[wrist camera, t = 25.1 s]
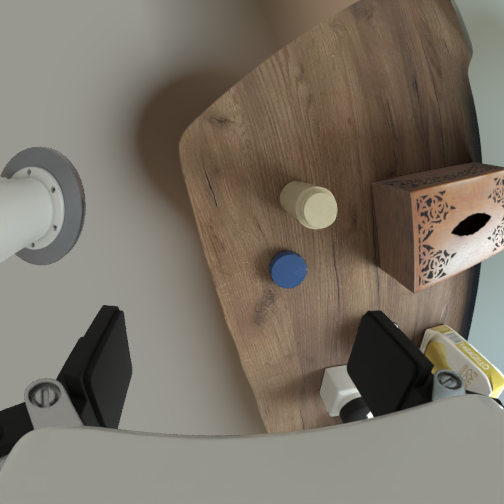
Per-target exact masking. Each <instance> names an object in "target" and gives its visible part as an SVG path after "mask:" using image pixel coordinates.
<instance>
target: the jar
mask: <svg viewBox="0 0 504 504" xmlns="http://www.w3.org/2000/svg"><path fill="white" fill-rule="evenodd" d="M280 203H281V206H282V208H283V209H284V211H285V212H287V213H288V214H289V215H290V216H292V217H293V218H294V219H296V220H297V221H298V222H300V223H301V224H302V225H303V226H305V227H307V228H309V229H322V228H326V227H328V226H330V225H331V224H332V223H333V222H334V220H335V219H336V218H335V217H336V215H337V204H336V201H335V198H334V196H333V195H332V193H331V192H330V191H329V190H327V189H326V188H323V187H320V186H317V185H313V184H310V183H306V182H303V181H292V182H290V183H288V184H287V185H286V186H285V187H284V188H283V189H282V191H281V194H280Z"/></svg>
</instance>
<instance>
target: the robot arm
mask: <svg viewBox="0 0 504 504" xmlns="http://www.w3.org/2000/svg"><path fill="white" fill-rule="evenodd" d="M64 213H65V209H64V199H63V194H62V191H61V188H60V186H59V184H58V182H57V181H56V179H55V178H54V177H53V175H52V174H50V173H49V172H48V171H47V170H45V169H43V168H40V167H26V168H23V169H21V170H19V171H18V172H16V173H15V174H14V175H13V176H12V178H11V179H7V178H6V177H4V178H2V177H1V176H0V263H1V262H2V261H4V260H5V259H7V258H8V257H10V256H12V255H13V254H15V253H16V252H18V251H20V250H21V249H23V248H28V249H33V250H36V249H41V248H44V247H46V246H48V245H49V244H51V243H52V242H53V241H54V240H55V239H56V237H57V236H58V234H59V232H60V230H61V228H62V225H63V221H64ZM56 226H57V227H56ZM433 367H434V364H433V363H432V362H431V361H430V360H429V359H428V358H427V357H426V356H425V355H424V354H423V353H422V352H421V351H420V350H419V349H418V348H417V346H416V345H415V344H414V343H413V342H412V341H411V340H410V339H409V338H408V337H407V336H406V335H405V334H404V333H403V332H402V331H401V330H400V329H399V328H398V327H397V326H396V325H395V324H394V323H393V322H392V321H391V320H390V319H389V318H388V317H387V316H386V315H385V314H384V313H383V312H382V311H380V310H378V311H368V312H366V314H365V315H363V316H362V319H361V322H360V326H359V329H358V333H357V336H356V339H355V342H354V345H353V349H352V352H351V355H350V358H349V361H348V364H347V373H348V375H349V377H350V378H351V380H352V382H353V383H354V385H355V387H356V388H357V390H358V392H359V393H360V395H361V397H362V398H363V400H364V402H365V403H366V405H367V407H368V408H369V410H370V412H371V413H372V415H373V417H374V418H369V419H365V420H360V421H355V422H350V423H345V424H340V425H334V426H328V427H322V428H315V429H308V430H300V431H291V432H281V433H269V434H256V435H255V434H254V435H229V436H228V435H226V436H205V435H178V434H161V433H148V432H138V431H129V430H121V429H118V425H119V421H120V417H121V413H122V409H123V405H124V401H125V398H126V394H127V390H128V387H129V383H130V379H131V375H132V364H131V358H130V352H129V346H128V340H127V333H126V326H125V319H124V312H123V311H120V310H119V308H118V306H107V305H103V306H102V308H101V309H100V311H99V312H98V314H97V316H96V317H95V319H94V320H93V322H92V324H91V325H90V327H89V329H88V330H87V332H86V334H85V335H84V337H81V338H80V339H79V340H78V342H77V343H76V345H75V347H74V348H73V350H72V352H71V354H70V355H69V357H68V359H67V361H66V362H65V364H64V366H63V368H62V370H61V371H60V373H59V375H58V377H57V379H56V380H54V379H50V378H44V379H39V380H36V381H34V382H32V383H31V384H30V385H29V386H28V387H27V389H26V390H25V393H24V398H25V402H24V403H21V404H18V405H15V406H13V407H10V408H7V409H4V410H2V411H0V504H504V406H503V405H502V403H501V401H500V400H498V399H497V398H493V397H489V396H486V395H482V394H479V393H476V392H472V391H469V390H466V389H465V382H464V380H463V378H462V377H461V376H460V375H459V374H458V373H456V372H454V371H452V370H449V369H439V370H437V371H436V372H435V373H434V374H433V373H432V372H431V371H432V369H433Z"/></svg>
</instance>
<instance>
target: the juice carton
mask: <svg viewBox="0 0 504 504" xmlns="http://www.w3.org/2000/svg"><path fill="white" fill-rule="evenodd" d="M419 350H420V351H421V352H422V353H423V354H424V355H425V356H426V357H427V358H428V359H429V360H430V361H431V362H432V363H433V364H434V367H433V369H432V371H431V372H432V373H433V374H434V373H435V372H436V371H437V370H439V369H449V370H452V371H454V372H456V373H458V374H459V375H460V376H461V377H462V378H463V380H464V382H465V389H466V390H469V391H472V392H476V393H479V394H482V395H486V396H489V397H493V398H498V396H499V394H500V393H501V392H502V390H503V388H504V375H503V374H502V373H501V372H500V371H499V370H498V369H497V368H496V367H495V366H494V365H493V364H492V363H491V362H490V361H489V360H487V359H486V358H485V357H484V356H483V355H482V354H481V353H480V352H479V351H477V350H476V349H475V348H474V347H473V346H472V345H471V344H469V343H468V342H467V341H466V340H465V339H464V338H463V337H461V336H460V335H459V334H458V333H457V332H455V331H454V330H453V329H452V328H450V327H448V326H447V325H440V326H437V327H433V328H429V329H426V331H425V334H424V337H423V341H422V344H421V346H420V349H419Z"/></svg>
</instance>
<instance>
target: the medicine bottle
mask: <svg viewBox="0 0 504 504" xmlns="http://www.w3.org/2000/svg"><path fill="white" fill-rule="evenodd" d="M320 395H321V397H322V400H323V402H324V404H325V406H326V408H327V411H328V413H329V415H330V416H331V417H333V416H338V415H340V417H341V419H342V421H343V424H345V423H350V422H355V421H360V420H365V419H369V418H373V415H372V413H371V412H370V410H369V408H368V407H367V405H366V403H365V402H364V400H363V398H362V397H361V395H360V393H359V392H358V390H357V388H356V387H355V385H354V383H353V382H352V380H351V378H350V377H349V375H348V373H347V365H343V366H337V367H331V368H326V369H325V373H324V377H323V381H322V385H321V389H320Z"/></svg>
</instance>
